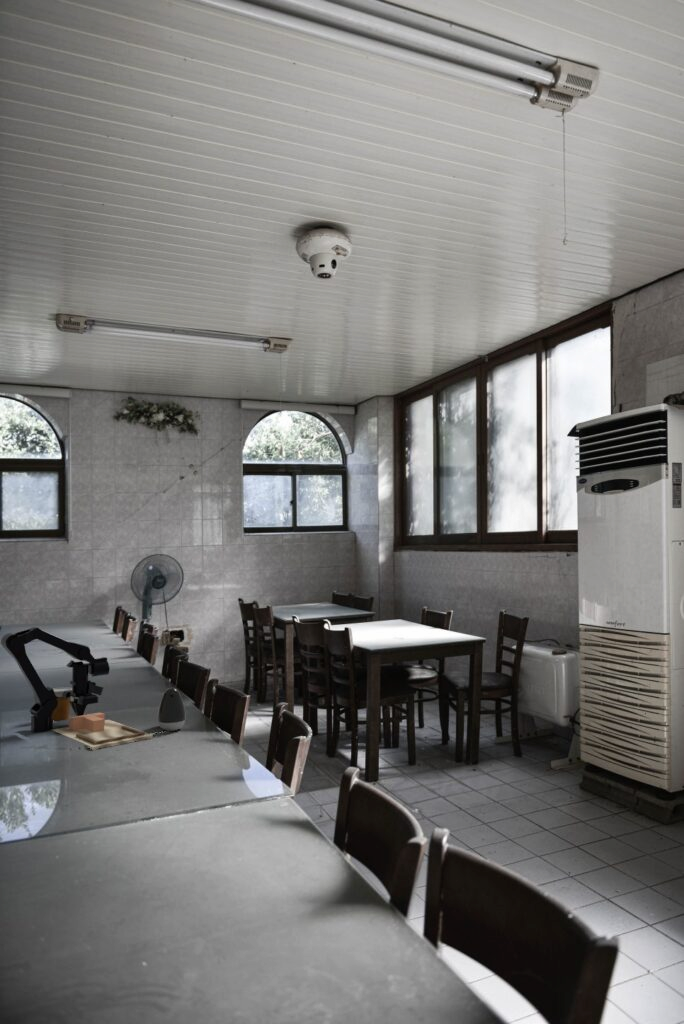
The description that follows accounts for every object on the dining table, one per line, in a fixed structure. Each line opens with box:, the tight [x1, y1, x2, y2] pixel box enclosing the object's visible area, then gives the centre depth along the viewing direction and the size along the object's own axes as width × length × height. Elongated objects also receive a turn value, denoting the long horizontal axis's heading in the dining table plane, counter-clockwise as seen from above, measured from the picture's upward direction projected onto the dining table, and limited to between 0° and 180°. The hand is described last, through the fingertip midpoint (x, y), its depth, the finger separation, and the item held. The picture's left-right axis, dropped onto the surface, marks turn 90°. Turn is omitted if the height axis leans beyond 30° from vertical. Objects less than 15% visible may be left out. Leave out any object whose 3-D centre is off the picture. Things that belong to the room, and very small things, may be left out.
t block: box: [68, 712, 106, 732], centre depth 266 cm, size 12×12×4 cm
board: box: [52, 719, 154, 751], centre depth 260 cm, size 22×34×2 cm, turn 43°
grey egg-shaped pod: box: [157, 687, 187, 732], centre depth 267 cm, size 10×10×15 cm
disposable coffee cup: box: [52, 686, 72, 722], centre depth 284 cm, size 10×10×12 cm
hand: (79, 720), depth 273 cm, fingers closed
